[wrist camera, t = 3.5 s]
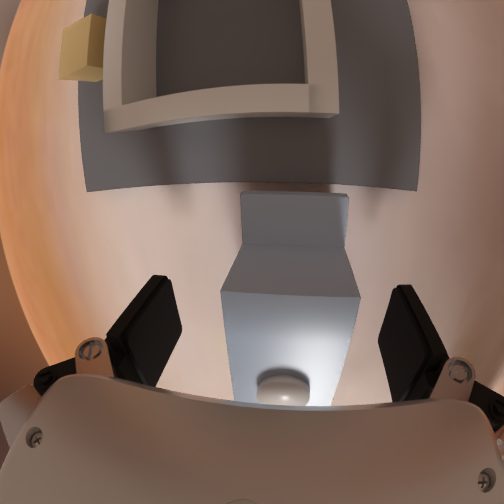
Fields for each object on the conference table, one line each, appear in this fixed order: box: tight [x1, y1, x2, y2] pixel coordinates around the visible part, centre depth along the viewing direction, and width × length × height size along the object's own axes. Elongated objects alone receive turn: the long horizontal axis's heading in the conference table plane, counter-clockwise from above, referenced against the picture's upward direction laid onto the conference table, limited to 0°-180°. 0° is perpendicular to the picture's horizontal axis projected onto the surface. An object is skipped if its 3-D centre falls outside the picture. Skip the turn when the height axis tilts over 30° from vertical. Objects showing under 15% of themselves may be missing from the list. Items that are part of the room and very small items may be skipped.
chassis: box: [59, 0, 421, 192], centre depth 8 cm, size 18×16×4 cm
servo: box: [220, 191, 361, 406], centre depth 12 cm, size 4×10×7 cm, turn 2°
